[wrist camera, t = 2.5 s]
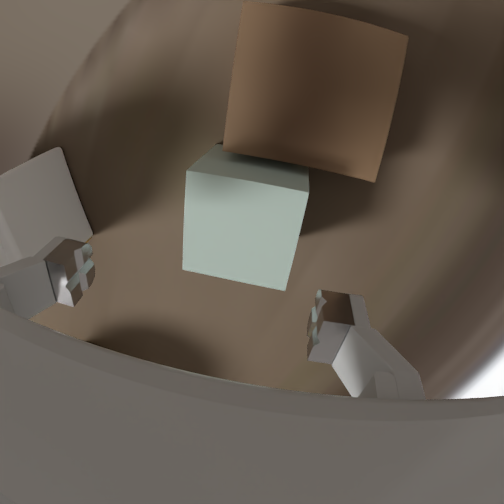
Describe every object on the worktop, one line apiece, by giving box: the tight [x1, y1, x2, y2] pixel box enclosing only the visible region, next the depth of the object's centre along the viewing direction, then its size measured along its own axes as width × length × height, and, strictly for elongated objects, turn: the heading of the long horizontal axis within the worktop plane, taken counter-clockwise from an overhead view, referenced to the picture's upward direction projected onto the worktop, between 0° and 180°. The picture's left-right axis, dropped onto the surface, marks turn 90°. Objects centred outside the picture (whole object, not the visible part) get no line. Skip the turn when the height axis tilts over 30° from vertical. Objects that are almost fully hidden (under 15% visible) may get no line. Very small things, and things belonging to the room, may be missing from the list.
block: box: [222, 1, 409, 183], centre depth 13 cm, size 7×7×3 cm
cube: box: [183, 144, 309, 291], centre depth 16 cm, size 5×5×5 cm
